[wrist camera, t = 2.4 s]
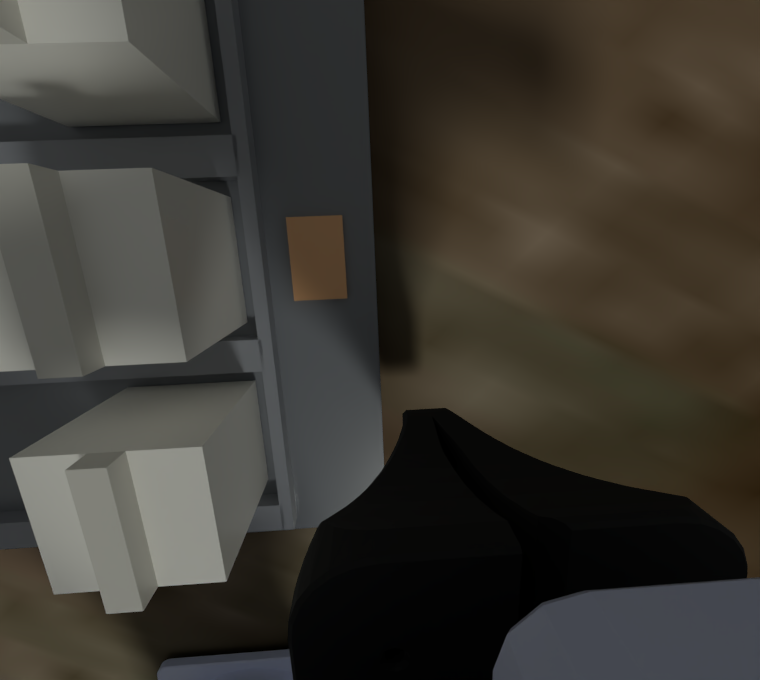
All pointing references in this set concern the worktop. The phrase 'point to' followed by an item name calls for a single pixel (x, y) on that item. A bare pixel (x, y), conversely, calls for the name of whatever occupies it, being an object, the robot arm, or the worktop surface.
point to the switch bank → (252, 254)
